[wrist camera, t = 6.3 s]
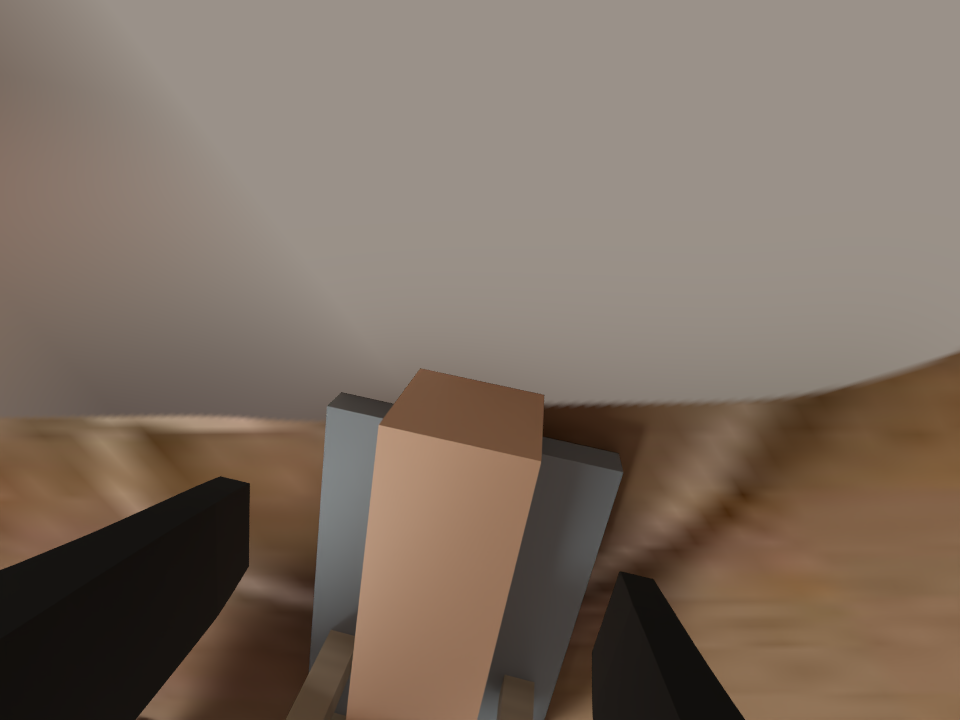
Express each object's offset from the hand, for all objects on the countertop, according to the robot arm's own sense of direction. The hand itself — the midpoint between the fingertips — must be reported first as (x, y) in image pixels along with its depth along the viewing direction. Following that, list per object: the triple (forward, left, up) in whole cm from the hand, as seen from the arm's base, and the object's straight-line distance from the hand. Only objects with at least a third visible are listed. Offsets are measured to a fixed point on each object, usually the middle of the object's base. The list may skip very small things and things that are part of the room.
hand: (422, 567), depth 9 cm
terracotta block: (-4, 0, -7) cm, 8 cm away
